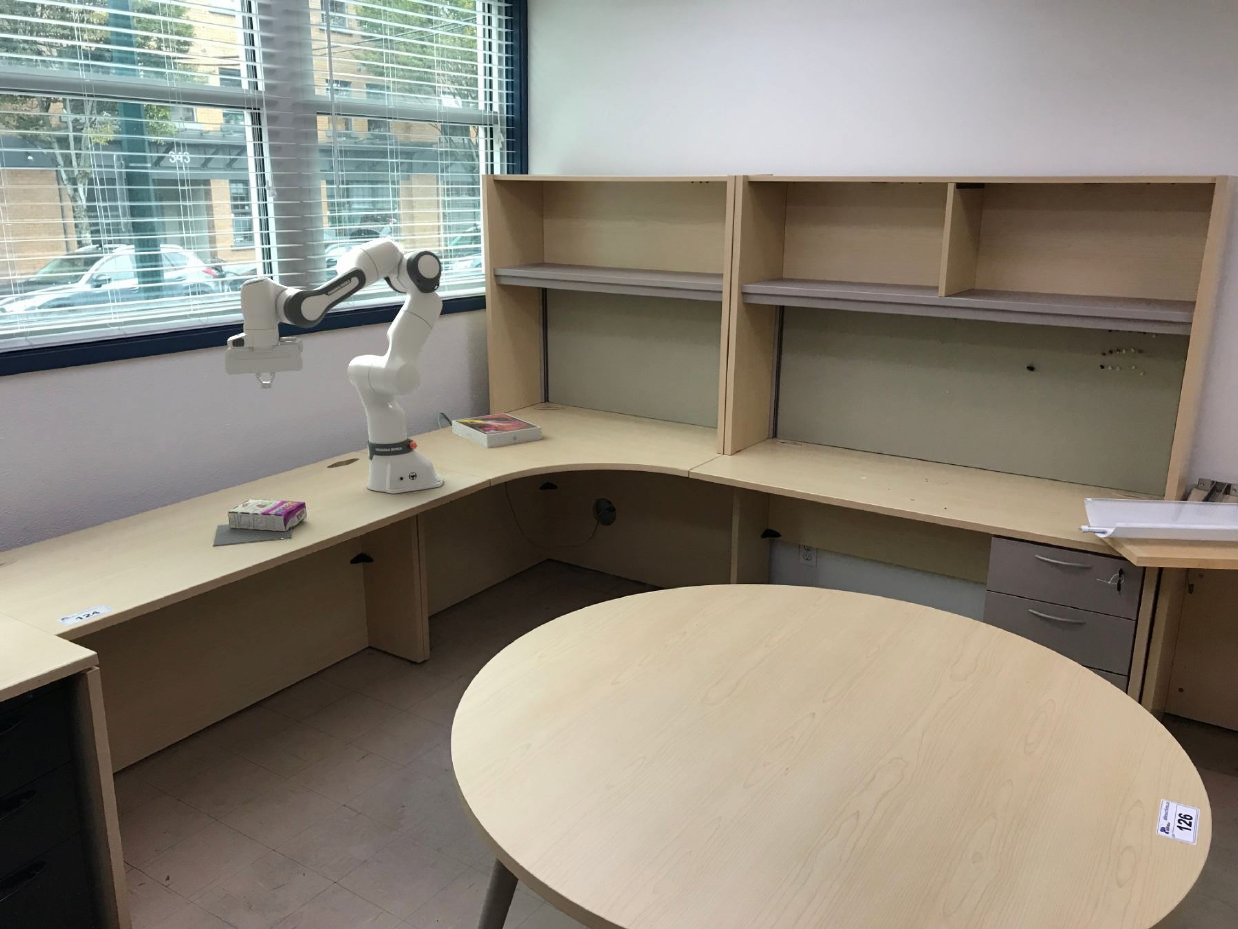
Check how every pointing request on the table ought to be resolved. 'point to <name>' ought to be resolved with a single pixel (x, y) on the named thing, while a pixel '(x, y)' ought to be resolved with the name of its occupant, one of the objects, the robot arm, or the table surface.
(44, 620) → the table surface
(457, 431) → the product packaging
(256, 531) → the mat
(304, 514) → the candy bar box
